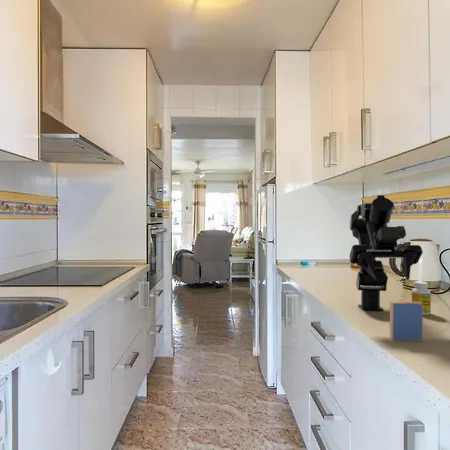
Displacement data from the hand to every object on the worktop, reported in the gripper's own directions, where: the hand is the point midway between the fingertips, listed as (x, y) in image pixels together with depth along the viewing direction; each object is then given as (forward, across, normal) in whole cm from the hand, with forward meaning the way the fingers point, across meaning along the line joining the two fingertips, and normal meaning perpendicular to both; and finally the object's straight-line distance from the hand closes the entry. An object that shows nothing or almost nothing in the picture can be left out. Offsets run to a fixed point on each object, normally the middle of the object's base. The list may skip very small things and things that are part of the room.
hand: (392, 278), depth 107 cm
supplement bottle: (-3, +15, +23) cm, 27 cm away
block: (+16, 0, +2) cm, 17 cm away
